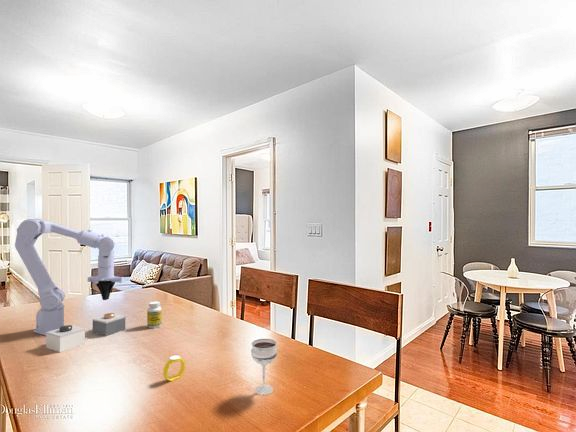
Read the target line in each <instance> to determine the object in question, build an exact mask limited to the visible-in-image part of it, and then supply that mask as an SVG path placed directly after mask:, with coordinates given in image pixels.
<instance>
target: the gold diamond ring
mask: <svg viewBox="0 0 576 432" xmlns="http://www.w3.org/2000/svg"><path fill="white" fill-rule="evenodd" d="M168 359H169V360H168V361H167V362H166V364H165V365H164V368H163V373H162V375H163V377H164V379H166V380H167V381H169V382H174V381H175V380H177V379H179V378H181V377H182V376H183V374H184V372H185V368H186V363H185V361H184V359H183V358H181V356H180V355H172V356H170V357H168ZM179 361H180V365H181V366H180V369H179V372H178V373H177V374H176V375H174V376H172V377H170V378H169V376H168V372H169V371H168V370H169V368H170V366H171V365H172V363H175V362H179Z"/></svg>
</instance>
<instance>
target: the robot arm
mask: <svg viewBox="0 0 576 432" xmlns="http://www.w3.org/2000/svg"><path fill="white" fill-rule="evenodd" d="M47 233H49V234H50V233H54V234H57V235H61V236H65V237H68V238H70V239H71V238H72V239H75V240H76V241H77V243H78V244H80V245H82V246H87V247H90V248H93V249H98V255H97V275H96V276H93V275H92V276H87V283H88V282H89V283H90V282H97V283H96V287H97V288H98V290H99V292H100V295H101V299H102V301H108V300H109V299H110V295H111V292H112V290H113V288H114V286H115V284H116V283H120V284H121V283H124V282H125V277H124V276H116V275H115V255H114V254H115V251H114V249H115V240H114V239H113V238H111V237H109V236H105V234H99V233H96V232H93V230H92V229H83V230H81V231H79V230H76V229H73V228H70V227H67V226H65V225H62V224H59V223H58V222H57V223H56V222H53V221H49V220H42V219H39V218H27V219H24V220H22V221H21V223H20V224H19V225H18V227H16V238H15V242H14V246H15V247H14V248H15V249H16V252H17V253H18V255H19V257H20V259H21V260H22V262H23V263H24V266H25V268H26V270H27V271H28V273H29V275H30V277H31V278H32V280H33V283H34V284H35V286H36V288H37V293H38V296H39V300H40V301H39V304H40V307H41V308H40V309H39V310H37V312H36V314H35V315H36V316H35V329H34V330H33V331H32V332H33V333H36V334H38V335H39V334H40V335H43V336H46V332H48V331H52V330H55V329H59V328H60V327H62V326H65V305H64V303H63V301H64V300H65V296H66V295H65V292H64V290H63V289H61V288H59V287H58V285H57V283H55V282H54V281H53V279H52V277H51V275H50V273H49V272H48V270H47V268H46V267H45V264H44V263H43V261H42V259H41V257H40V255H39V253H38V251H37V248H35V243H36V241H37V240H38V238H39V237H40V236H42V234H47Z"/></svg>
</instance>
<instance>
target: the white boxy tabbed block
mask: <svg viewBox="0 0 576 432" xmlns="http://www.w3.org/2000/svg"><path fill="white" fill-rule="evenodd" d="M114 314H115V317H113V318H104V315H102V316H98V317H94V318H92V334H96V335H101V336H103V337H108V336H110V335H113V334H116V333H119V332H121V331H124V330H126V315H122V314H117V313H114Z"/></svg>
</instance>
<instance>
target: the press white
mask: <svg viewBox="0 0 576 432" xmlns="http://www.w3.org/2000/svg"><path fill="white" fill-rule="evenodd" d="M71 325H72V330H70V331H65V332H60V331H59V329H55V330H52V331H48V332H46V335H45V348H46V349H49V350H52V351H54V352H58V353H62V352H66V351H67V350H70V349H73V348H76V347H79V346H82V345H85V339H86V337H85V335H86V328H85V327H80V326H77V325H73V324H71Z"/></svg>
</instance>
